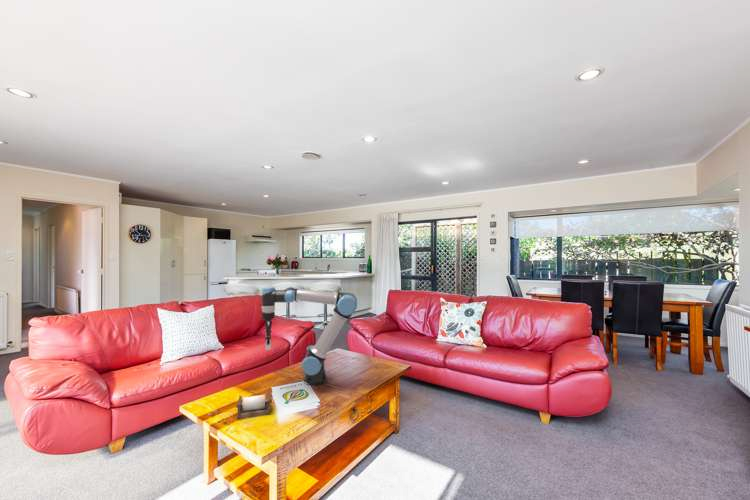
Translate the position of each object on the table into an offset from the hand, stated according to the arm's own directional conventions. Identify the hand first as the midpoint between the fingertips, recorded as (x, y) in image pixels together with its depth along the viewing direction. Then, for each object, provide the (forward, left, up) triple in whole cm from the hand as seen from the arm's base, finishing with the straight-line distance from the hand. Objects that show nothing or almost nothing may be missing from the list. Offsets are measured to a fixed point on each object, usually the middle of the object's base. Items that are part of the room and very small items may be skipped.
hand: (268, 346), depth 196 cm
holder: (+7, +26, -27) cm, 38 cm away
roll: (+7, +26, -22) cm, 35 cm away
